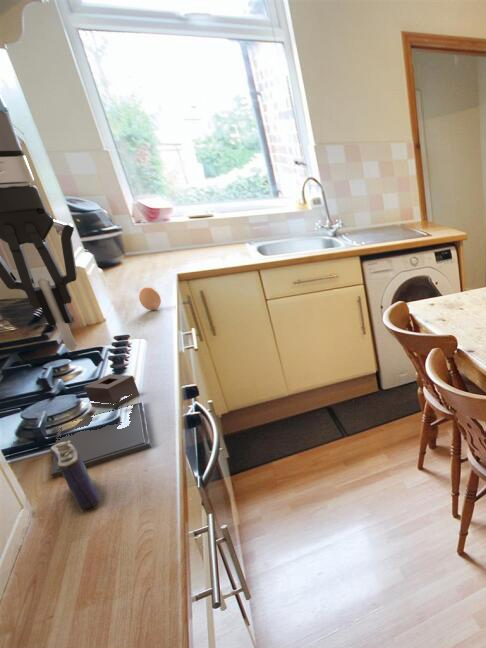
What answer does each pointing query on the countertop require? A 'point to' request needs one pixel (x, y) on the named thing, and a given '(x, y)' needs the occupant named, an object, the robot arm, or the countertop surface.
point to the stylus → (57, 314)
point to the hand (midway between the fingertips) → (60, 322)
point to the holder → (111, 390)
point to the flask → (76, 475)
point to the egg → (149, 298)
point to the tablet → (108, 440)
